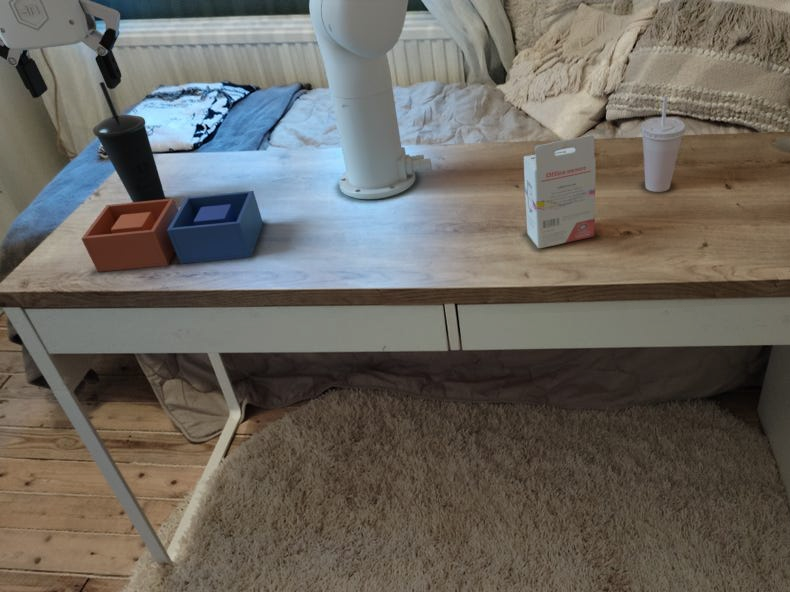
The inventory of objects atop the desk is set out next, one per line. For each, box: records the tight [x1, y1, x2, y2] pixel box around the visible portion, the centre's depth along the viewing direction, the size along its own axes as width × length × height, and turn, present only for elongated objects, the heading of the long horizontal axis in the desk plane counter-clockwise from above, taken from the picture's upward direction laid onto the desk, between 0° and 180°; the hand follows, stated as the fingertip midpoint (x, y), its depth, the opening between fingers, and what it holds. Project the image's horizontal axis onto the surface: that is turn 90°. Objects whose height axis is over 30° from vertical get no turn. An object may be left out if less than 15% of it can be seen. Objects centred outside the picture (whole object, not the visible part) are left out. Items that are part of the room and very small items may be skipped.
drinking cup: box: [92, 81, 167, 202], centre depth 111 cm, size 8×8×20 cm
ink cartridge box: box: [523, 134, 597, 249], centre depth 95 cm, size 9×5×15 cm, turn 106°
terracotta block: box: [111, 212, 155, 234], centre depth 104 cm, size 4×4×4 cm
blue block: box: [194, 204, 237, 226], centre depth 104 cm, size 4×4×4 cm
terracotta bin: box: [81, 198, 179, 273], centre depth 104 cm, size 10×10×6 cm
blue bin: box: [167, 190, 264, 265], centre depth 104 cm, size 10×10×6 cm
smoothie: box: [639, 95, 686, 193], centre depth 105 cm, size 6×6×14 cm
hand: (78, 89), depth 91 cm, fingers open, 9 cm apart
